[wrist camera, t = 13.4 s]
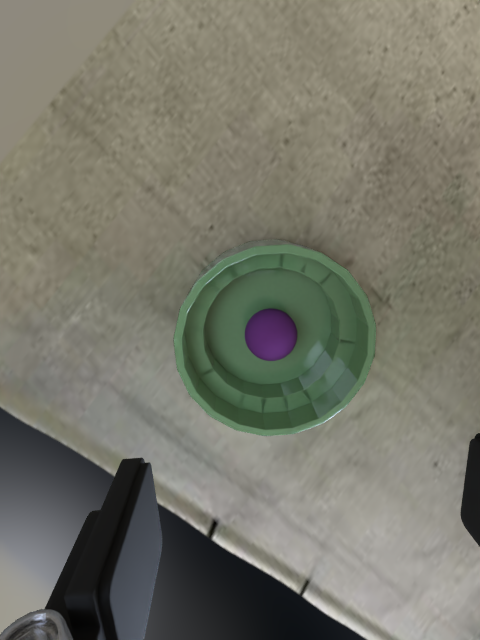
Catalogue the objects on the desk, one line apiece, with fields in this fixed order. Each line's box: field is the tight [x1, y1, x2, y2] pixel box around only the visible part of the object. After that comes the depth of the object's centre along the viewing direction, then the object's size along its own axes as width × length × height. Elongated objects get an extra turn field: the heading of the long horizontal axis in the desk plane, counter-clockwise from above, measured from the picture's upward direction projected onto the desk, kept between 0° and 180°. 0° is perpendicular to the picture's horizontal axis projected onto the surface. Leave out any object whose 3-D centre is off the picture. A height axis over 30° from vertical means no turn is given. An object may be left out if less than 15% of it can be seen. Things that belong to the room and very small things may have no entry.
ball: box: [245, 308, 297, 361], centre depth 31 cm, size 4×4×4 cm
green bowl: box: [174, 239, 376, 436], centre depth 31 cm, size 15×15×6 cm
